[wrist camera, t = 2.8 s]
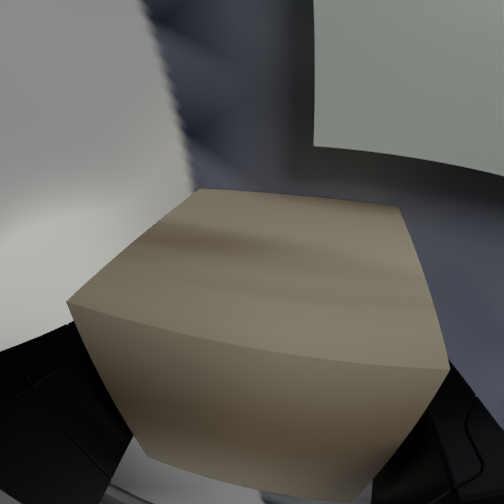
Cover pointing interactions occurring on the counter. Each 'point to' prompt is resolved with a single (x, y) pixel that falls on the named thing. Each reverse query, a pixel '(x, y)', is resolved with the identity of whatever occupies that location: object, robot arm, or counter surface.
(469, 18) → the baseplate
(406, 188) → the counter surface
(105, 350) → the beech brick
